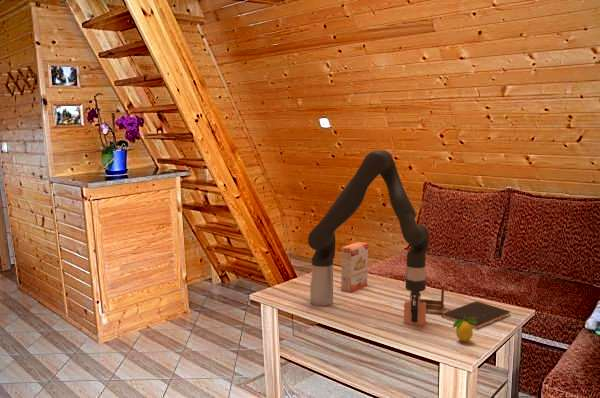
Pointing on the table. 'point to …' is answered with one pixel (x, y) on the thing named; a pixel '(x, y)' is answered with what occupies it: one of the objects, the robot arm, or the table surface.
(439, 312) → the track frame
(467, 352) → the table surface
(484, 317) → the hardcover book
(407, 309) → the door panel
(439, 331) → the table surface
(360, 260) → the cracker box
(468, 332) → the lemon
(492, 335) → the table surface
